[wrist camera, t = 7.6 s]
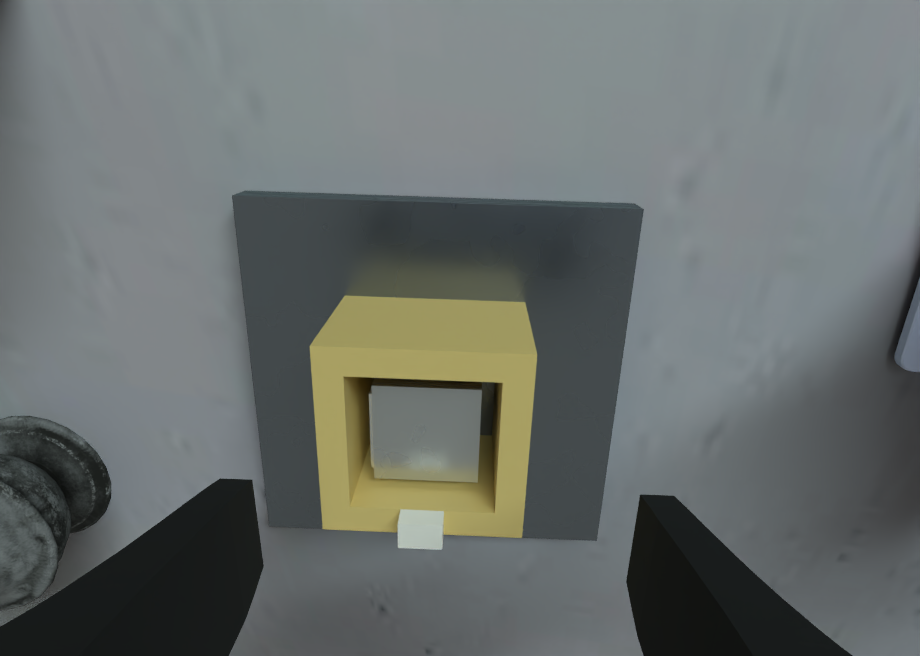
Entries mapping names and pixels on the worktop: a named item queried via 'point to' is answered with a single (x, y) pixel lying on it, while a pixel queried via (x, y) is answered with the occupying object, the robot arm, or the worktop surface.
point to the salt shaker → (43, 501)
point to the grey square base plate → (441, 277)
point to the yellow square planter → (427, 358)
